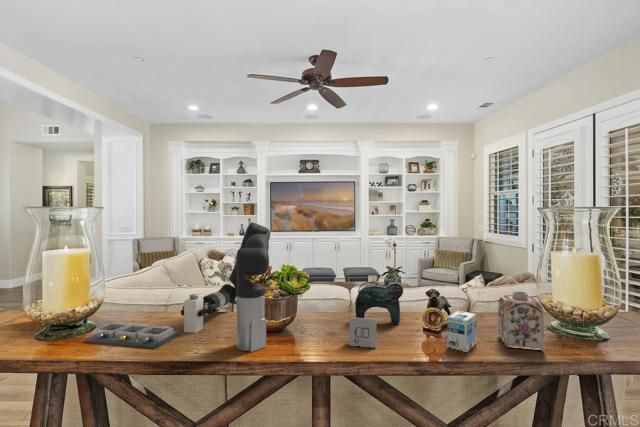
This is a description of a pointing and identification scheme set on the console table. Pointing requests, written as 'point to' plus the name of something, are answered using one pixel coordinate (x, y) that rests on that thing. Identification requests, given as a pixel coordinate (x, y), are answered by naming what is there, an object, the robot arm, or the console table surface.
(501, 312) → the decorative jar
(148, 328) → the breaker board
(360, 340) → the electrical switch
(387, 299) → the dark green figurine
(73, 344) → the console table surface
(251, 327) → the robot arm
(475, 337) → the light bulb box
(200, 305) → the white tall block
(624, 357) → the console table surface
